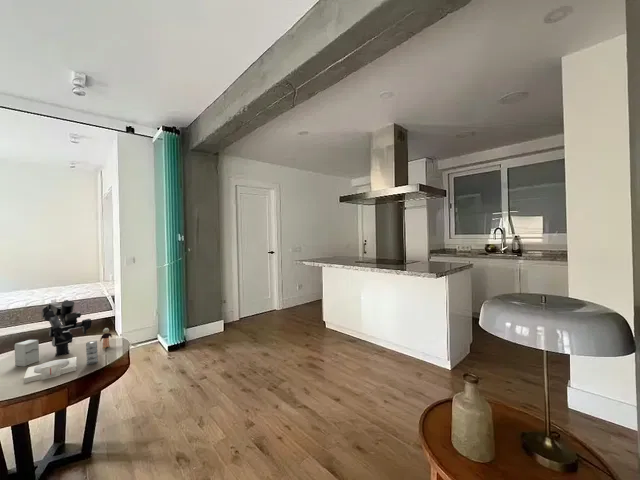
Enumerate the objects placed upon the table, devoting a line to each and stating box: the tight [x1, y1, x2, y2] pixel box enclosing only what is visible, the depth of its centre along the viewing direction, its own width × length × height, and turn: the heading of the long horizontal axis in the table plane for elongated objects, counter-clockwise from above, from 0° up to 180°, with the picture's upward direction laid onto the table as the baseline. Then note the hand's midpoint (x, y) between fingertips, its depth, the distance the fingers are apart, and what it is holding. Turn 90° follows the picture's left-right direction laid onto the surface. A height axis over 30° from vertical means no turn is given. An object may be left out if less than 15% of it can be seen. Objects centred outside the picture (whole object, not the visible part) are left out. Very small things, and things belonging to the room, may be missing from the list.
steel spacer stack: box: [85, 340, 99, 366], centre depth 165 cm, size 5×5×12 cm
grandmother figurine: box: [99, 327, 113, 350], centre depth 188 cm, size 8×4×13 cm, turn 170°
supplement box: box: [14, 339, 40, 367], centre depth 166 cm, size 7×7×13 cm
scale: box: [23, 356, 78, 384], centre depth 155 cm, size 18×20×6 cm
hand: (75, 336), depth 164 cm, fingers open, 9 cm apart
